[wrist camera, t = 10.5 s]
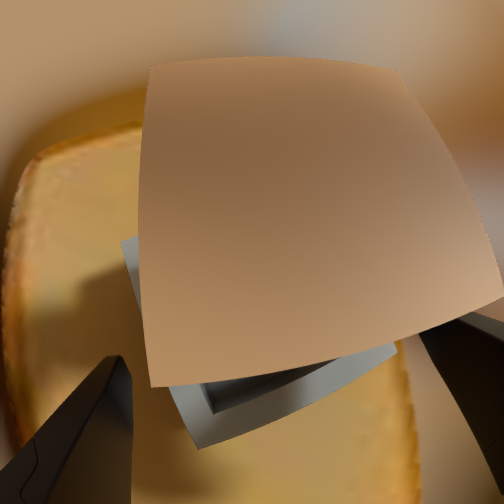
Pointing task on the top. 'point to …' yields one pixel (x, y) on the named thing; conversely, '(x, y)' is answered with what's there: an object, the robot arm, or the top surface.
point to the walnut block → (296, 218)
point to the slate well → (256, 385)
